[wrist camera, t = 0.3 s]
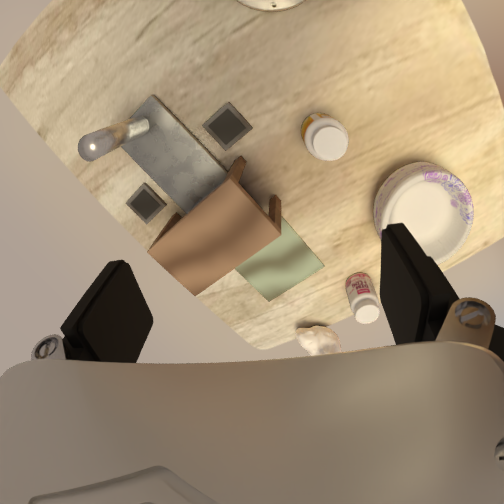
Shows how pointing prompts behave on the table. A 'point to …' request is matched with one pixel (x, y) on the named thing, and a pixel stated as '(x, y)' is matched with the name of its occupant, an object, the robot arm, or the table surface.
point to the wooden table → (228, 230)
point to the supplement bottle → (324, 137)
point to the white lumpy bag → (318, 340)
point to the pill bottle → (362, 298)
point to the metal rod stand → (160, 153)
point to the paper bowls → (426, 208)
